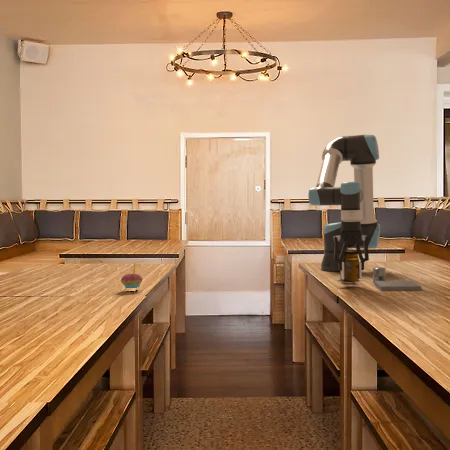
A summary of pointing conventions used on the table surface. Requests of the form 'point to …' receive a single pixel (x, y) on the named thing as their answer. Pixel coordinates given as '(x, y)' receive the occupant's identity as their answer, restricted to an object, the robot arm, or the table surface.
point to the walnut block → (341, 278)
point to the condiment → (351, 267)
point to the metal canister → (378, 274)
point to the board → (397, 285)
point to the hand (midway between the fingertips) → (351, 278)
